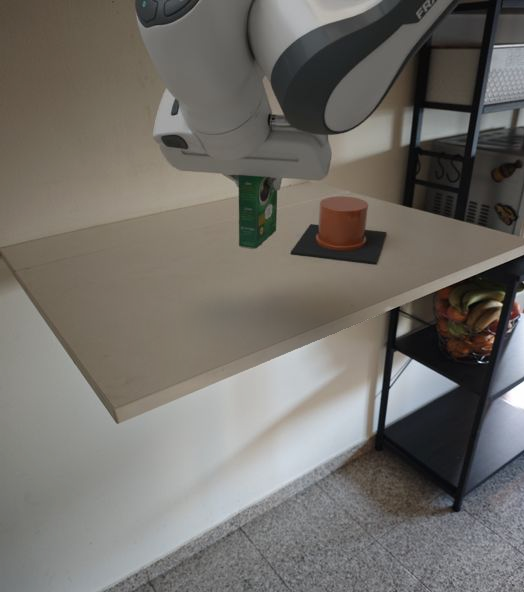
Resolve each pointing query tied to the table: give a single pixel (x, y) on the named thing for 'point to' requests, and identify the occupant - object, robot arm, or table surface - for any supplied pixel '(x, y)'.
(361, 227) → the stand
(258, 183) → the coffee box
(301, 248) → the mat
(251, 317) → the table surface
